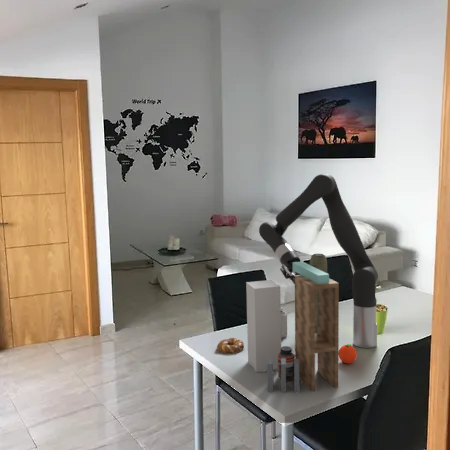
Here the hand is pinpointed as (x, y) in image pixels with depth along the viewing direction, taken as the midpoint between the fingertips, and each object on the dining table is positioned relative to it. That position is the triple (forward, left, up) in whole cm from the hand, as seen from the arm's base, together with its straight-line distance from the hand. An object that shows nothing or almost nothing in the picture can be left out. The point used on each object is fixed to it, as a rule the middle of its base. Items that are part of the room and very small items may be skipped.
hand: (306, 284), depth 201 cm
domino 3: (+5, +32, -29) cm, 43 cm away
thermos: (-6, -28, -29) cm, 41 cm away
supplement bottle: (+8, +23, -29) cm, 38 cm away
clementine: (-15, +8, -29) cm, 34 cm away
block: (0, +20, +8) cm, 22 cm away
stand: (-2, +25, -29) cm, 38 cm away
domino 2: (+9, +32, -29) cm, 44 cm away
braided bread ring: (+32, -3, -29) cm, 43 cm away
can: (+12, -19, -29) cm, 37 cm away
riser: (+17, +13, -29) cm, 36 cm away
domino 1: (+14, +32, -29) cm, 45 cm away
